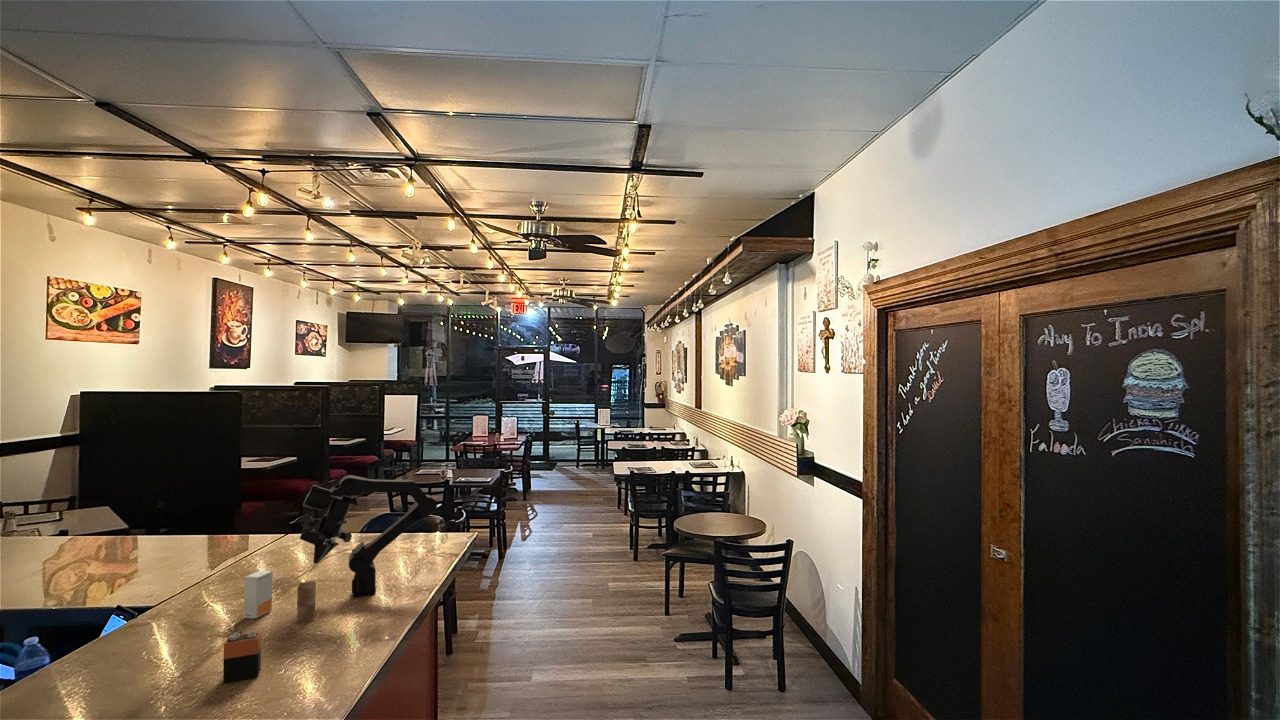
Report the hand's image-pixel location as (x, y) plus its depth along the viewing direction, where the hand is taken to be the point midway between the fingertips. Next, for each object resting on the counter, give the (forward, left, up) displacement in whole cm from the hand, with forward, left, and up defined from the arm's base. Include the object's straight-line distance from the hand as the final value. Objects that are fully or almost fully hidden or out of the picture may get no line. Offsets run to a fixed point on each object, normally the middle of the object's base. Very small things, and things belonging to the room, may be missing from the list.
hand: (315, 563), depth 187 cm
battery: (+8, +47, -12) cm, 49 cm away
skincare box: (+14, +6, -12) cm, 19 cm away
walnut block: (0, +15, -12) cm, 19 cm away
